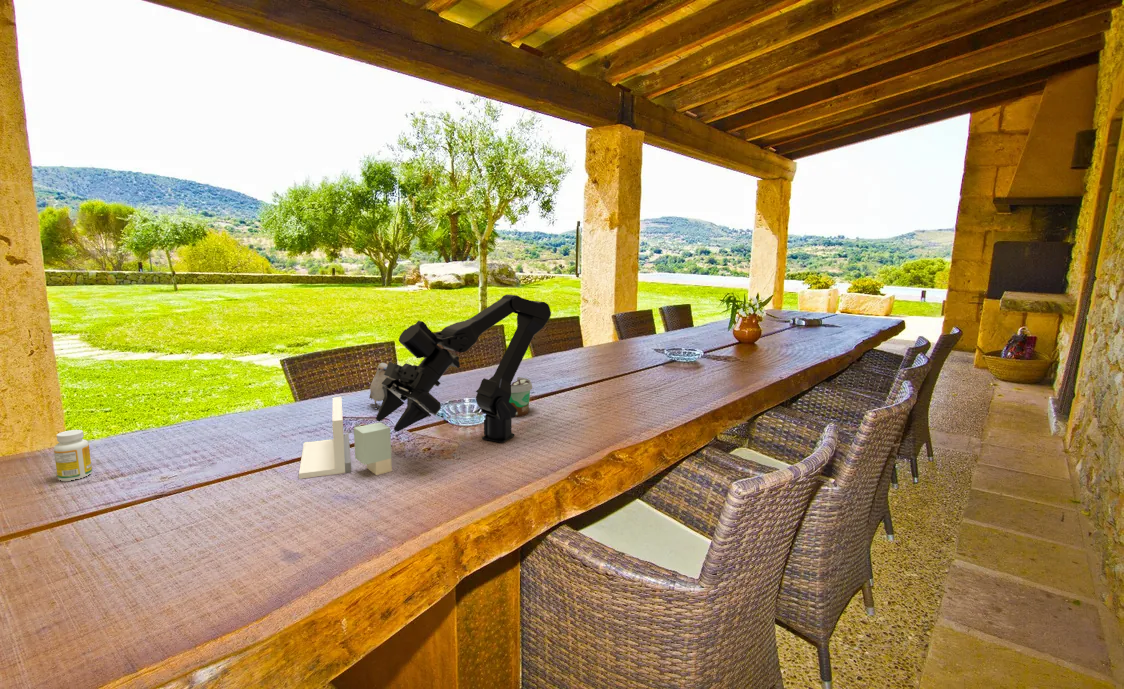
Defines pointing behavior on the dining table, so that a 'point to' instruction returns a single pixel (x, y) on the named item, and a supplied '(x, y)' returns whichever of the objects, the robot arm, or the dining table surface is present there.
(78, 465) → the supplement bottle
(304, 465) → the cream l-shaped piece
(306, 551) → the dining table surface
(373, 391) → the bird
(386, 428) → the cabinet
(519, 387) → the food container
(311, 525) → the dining table surface
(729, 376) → the dining table surface
